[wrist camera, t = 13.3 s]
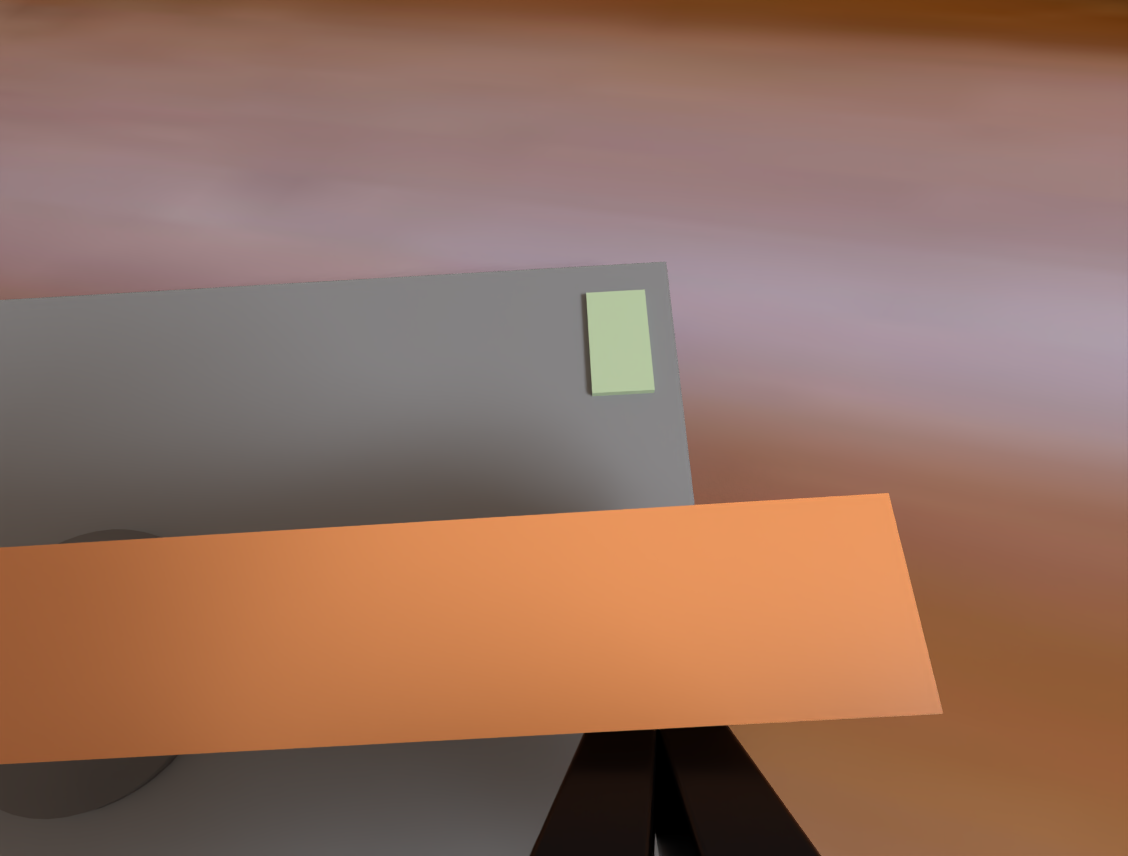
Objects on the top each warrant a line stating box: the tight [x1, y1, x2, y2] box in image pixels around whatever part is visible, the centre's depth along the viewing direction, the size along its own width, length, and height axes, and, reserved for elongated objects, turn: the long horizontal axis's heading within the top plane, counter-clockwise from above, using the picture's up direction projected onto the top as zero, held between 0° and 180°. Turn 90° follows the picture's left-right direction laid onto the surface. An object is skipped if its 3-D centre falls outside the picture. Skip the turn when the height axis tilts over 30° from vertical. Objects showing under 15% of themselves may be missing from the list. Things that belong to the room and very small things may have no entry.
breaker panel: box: [0, 262, 694, 856], centre depth 15 cm, size 20×28×3 cm
